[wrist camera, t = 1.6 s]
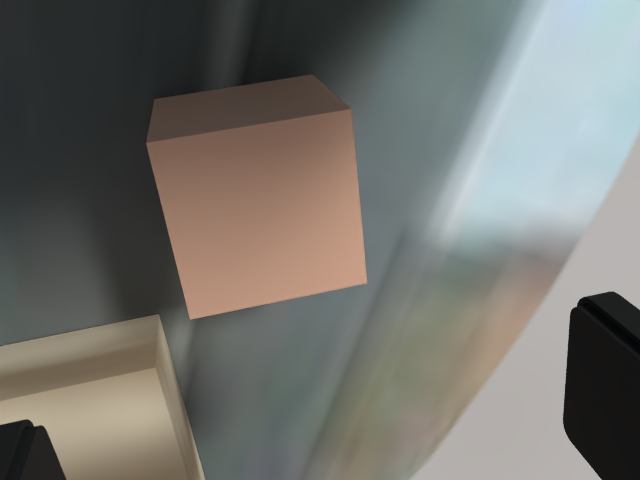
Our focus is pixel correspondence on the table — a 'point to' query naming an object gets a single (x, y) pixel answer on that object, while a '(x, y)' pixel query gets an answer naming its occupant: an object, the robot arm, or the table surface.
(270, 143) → the cube
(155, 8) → the table surface
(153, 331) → the base
